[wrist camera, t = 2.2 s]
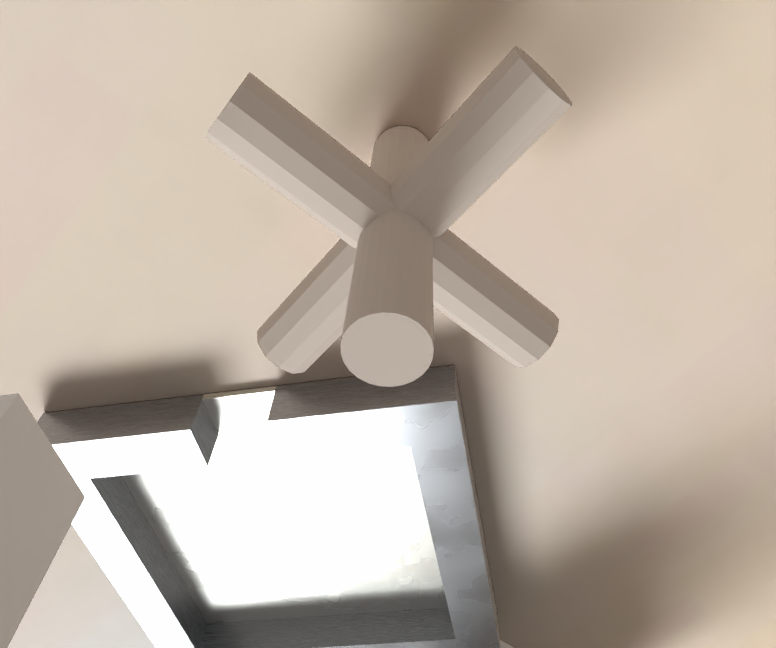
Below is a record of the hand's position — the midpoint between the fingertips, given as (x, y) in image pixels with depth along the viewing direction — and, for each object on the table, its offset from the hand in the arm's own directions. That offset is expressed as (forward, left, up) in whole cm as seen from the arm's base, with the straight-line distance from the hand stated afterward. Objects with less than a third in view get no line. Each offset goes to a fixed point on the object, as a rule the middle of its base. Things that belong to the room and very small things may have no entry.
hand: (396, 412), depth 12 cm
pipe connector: (0, 0, -12) cm, 12 cm away
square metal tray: (-8, -17, -12) cm, 22 cm away
